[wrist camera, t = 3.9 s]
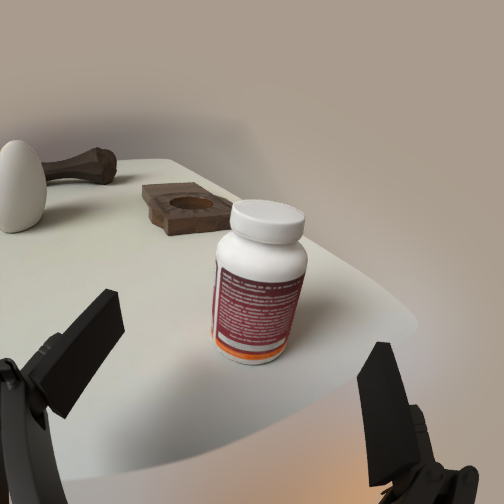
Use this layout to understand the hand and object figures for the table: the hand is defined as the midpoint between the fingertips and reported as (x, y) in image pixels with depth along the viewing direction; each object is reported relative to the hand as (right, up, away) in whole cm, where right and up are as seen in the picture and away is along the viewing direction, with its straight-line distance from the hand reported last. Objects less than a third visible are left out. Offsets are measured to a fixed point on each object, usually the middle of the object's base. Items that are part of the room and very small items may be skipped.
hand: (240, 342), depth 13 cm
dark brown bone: (-48, +22, +47) cm, 71 cm away
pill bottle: (0, -3, +9) cm, 10 cm away
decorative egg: (-40, +9, +22) cm, 47 cm away
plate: (-12, +12, +36) cm, 40 cm away
